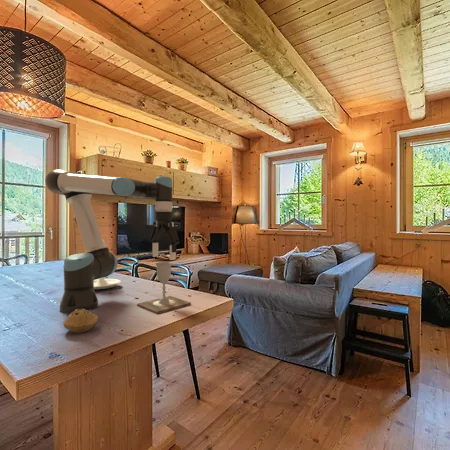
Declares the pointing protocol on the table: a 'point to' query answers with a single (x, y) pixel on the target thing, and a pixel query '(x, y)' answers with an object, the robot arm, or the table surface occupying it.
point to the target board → (163, 305)
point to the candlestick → (105, 281)
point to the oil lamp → (80, 321)
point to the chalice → (163, 278)
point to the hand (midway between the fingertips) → (163, 258)
